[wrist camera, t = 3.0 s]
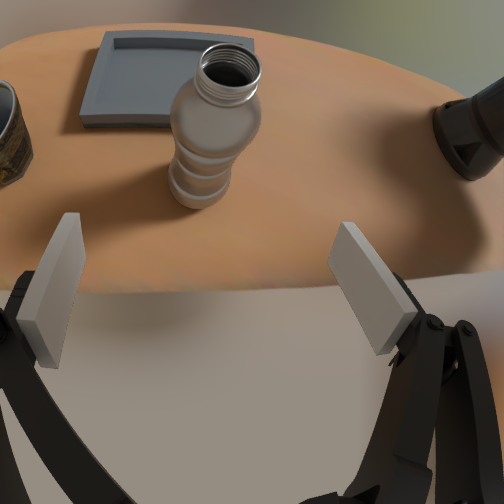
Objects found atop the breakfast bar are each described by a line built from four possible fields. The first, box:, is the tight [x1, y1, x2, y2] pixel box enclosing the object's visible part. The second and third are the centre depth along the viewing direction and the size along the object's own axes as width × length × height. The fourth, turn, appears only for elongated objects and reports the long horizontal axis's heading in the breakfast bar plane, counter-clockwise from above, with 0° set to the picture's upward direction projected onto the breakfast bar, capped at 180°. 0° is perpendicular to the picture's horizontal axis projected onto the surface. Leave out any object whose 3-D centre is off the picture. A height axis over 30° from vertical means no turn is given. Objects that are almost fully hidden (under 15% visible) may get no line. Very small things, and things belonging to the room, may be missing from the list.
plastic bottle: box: [167, 43, 262, 209], centre depth 25 cm, size 6×7×20 cm
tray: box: [79, 30, 254, 128], centre depth 34 cm, size 20×14×3 cm
